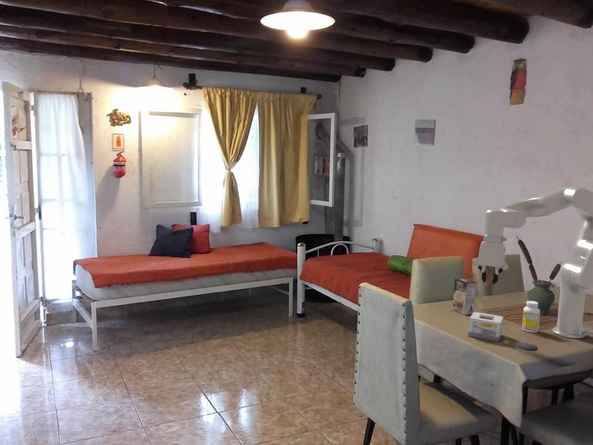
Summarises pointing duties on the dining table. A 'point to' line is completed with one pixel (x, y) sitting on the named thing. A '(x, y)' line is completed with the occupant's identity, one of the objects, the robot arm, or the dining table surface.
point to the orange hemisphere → (485, 324)
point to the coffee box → (464, 296)
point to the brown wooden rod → (489, 280)
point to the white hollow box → (483, 331)
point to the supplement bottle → (531, 317)
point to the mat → (527, 346)
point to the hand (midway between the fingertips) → (489, 282)
